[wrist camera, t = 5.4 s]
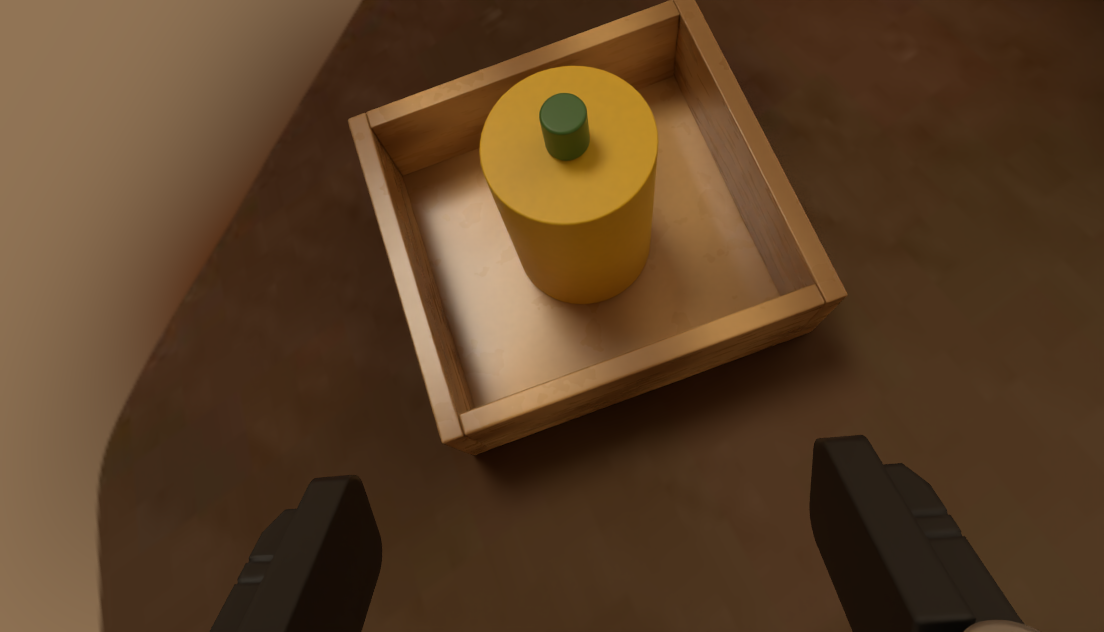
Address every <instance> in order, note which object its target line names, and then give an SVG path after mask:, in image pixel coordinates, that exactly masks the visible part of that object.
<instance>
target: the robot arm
mask: <svg viewBox="0 0 1104 632" xmlns="http://www.w3.org/2000/svg"><path fill="white" fill-rule="evenodd" d="M810 519H811V525H812V530H813V534H814V538H815V541H816V543H817V546H818V548H819V551H820V553H821V556H822V558H823V560H824V563H825V565H826V568H827V570H828V573H829V575H830V577H831V580H832V582H833V585H834V587H835V589H836V592H837V594H838V597H839V599H840V602H841V604H842V606H843V609H844V611H845V614H846V616H847V619H848V621H849V623H850V626H851V628H852V631H853V632H1041V631H1039V630H1037V629H1034V628H1032V627H1030V626H1027V625H1025V624H1024V623H1023V622H1022V620H1021V619H1020V618H1019V616H1018V615H1017V613H1016V612H1015V610H1014V609H1013V607H1012V606H1011V604H1010V603H1009V601H1008V600H1007V598H1006V597H1005V595H1004V594H1003V592H1002V591H1001V590H1000V588H999V587H998V585H997V584H996V582H995V581H994V579H993V578H992V576H991V575H990V573H989V572H988V570H987V569H986V567H985V566H984V564H983V563H982V561H981V560H980V558H979V557H978V555H977V554H976V552H975V551H974V549H973V548H972V546H971V545H970V543H969V542H968V540H967V539H966V537H965V536H962V534H961V530H960V528H959V527H958V526H957V524H956V523H955V521H954V520H953V518H952V517H951V515H948V514H947V509H946V508H945V506H944V505H943V503H942V502H941V500H940V499H939V497H938V496H937V494H936V493H935V491H934V490H933V488H932V487H931V485H930V484H929V483H928V482H926V481H925V480H924V479H922V478H921V477H920V476H918V475H917V474H916V473H914V472H913V471H912V470H910V469H909V468H908V467H906V466H905V465H904V464H902V463H898V464H886V465H883V464H882V462H881V460H880V459H879V457H878V455H877V454H876V452H875V450H874V449H873V447H872V446H871V444H870V442H869V441H868V439H867V438H866V437H865V436H863V435H855V436H843V437H830V438H818V439H816V441H815V443H814V449H813V463H812V477H811V491H810ZM381 562H382V543H381V537H380V533H379V530H378V527H377V524H376V521H375V519H374V516H373V513H372V510H371V507H370V504H369V501H368V498H367V495H366V492H365V489H364V486H363V483H362V481H361V479H360V478H359V477H358V476H357V475H347V476H335V477H322V478H315V479H313V480H312V481H311V482H310V484H309V486H308V488H307V490H306V492H305V494H304V496H303V498H302V500H301V502H300V504H299V506H298V508H297V509H288V510H284V511H283V512H282V513H281V514H280V515H279V516H278V517H277V518H276V519H275V520H274V521H273V522H272V523H271V524H270V525H269V526H268V527H267V528H266V529H265V530H264V531H263V532H262V534H261V536H260V538H259V540H258V542H257V544H256V545H255V547H254V549H253V551H252V553H251V555H250V557H249V563H246V564H245V566H244V568H243V570H242V572H241V574H240V575H239V577H238V583H237V584H235V585H234V587H233V589H232V590H231V592H230V594H229V596H228V598H227V600H226V602H225V604H224V605H223V607H222V609H221V611H220V613H219V615H218V617H217V619H216V620H215V622H214V624H213V626H212V628H211V630H210V632H361V631H362V627H363V624H364V621H365V618H366V615H367V611H368V608H369V605H370V602H371V598H372V595H373V592H374V589H375V586H376V582H377V579H378V576H379V573H380V569H381Z"/></svg>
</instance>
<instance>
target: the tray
mask: <svg viewBox="0 0 1104 632" xmlns="http://www.w3.org/2000/svg"><path fill="white" fill-rule="evenodd" d="M561 66H586V67H592V68H597V69H600V70H604V71H607V72H609V73H612V74H614V75H616V76H618V77H620V78H621V79H623V80H625V81H626V82H627V83H629V84H630V85H631V86H633V87H634V88H635V89H636V90H637V91H638V92H639V93H640V94H641V96H642V97H643V98H644V100H645V101H646V102H647V104H648V106H649V107H650V109H651V111H652V113H653V116H654V118H655V121H656V125H657V130H658V142H659V143H658V155H657V167H656V180H655V192H654V204H653V216H652V228H651V240H650V251H649V255H648V259H647V261H646V264H645V266H644V268H643V270H642V272H641V273H640V275H639V276H638V277H637V279H636V280H635V281H634V282H633V283H632V284H631V285H630V286H629V287H628V288H627V289H625V290H624V291H623V292H621V293H620V294H618V295H616V296H614V297H612V298H610V299H608V300H605V301H601V302H598V303H592V304H572V303H567V302H563V301H560V300H557V299H554V298H552V297H550V296H549V295H547V294H545V293H544V292H542V291H541V290H540V289H539V288H537V287H536V286H535V285H534V284H533V283H532V281H531V280H530V279H529V278H528V276H527V274H526V273H525V271H524V269H523V267H522V264H521V262H520V260H519V257H518V255H517V253H516V250H515V248H514V245H513V243H512V241H511V238H510V236H509V234H508V231H507V229H506V227H505V224H504V222H503V219H502V217H501V215H500V212H499V210H498V208H497V205H496V203H495V200H494V198H493V196H492V193H491V191H490V189H489V186H488V184H487V182H486V179H485V177H484V174H483V171H482V167H481V163H480V155H479V148H480V138H481V133H482V130H483V127H484V123H485V121H486V119H487V117H488V115H489V113H490V111H491V110H492V108H493V107H494V105H495V104H496V102H497V101H498V100H499V99H500V98H501V96H502V95H503V94H505V93H506V92H507V91H508V90H509V89H510V88H511V87H513V86H514V85H515V84H517V83H518V82H520V81H521V80H523V79H525V78H527V77H528V76H530V75H533V74H535V73H537V72H540V71H543V70H547V69H550V68H555V67H561ZM348 123H349V127H350V130H351V134H352V137H353V140H354V144H355V147H356V151H357V154H358V157H359V161H360V164H361V168H362V171H363V175H364V178H365V181H366V185H367V188H368V192H369V195H370V199H371V202H372V205H373V209H374V212H375V216H376V219H377V223H378V226H379V229H380V233H381V236H382V240H383V243H384V247H385V250H386V253H387V257H388V260H389V264H390V267H391V271H392V274H393V277H394V281H395V284H396V288H397V291H398V295H399V298H400V301H401V305H402V308H403V312H404V315H405V319H406V322H407V325H408V329H409V332H410V336H411V339H412V343H413V346H414V349H415V353H416V356H417V360H418V363H419V367H420V370H421V373H422V377H423V380H424V384H425V387H426V391H427V394H428V397H429V401H430V404H431V408H432V411H433V415H434V418H435V421H436V425H437V428H438V432H439V435H440V439H441V442H442V443H443V444H445V445H447V446H450V447H453V448H455V449H458V450H460V451H463V452H465V453H468V454H471V455H477V454H479V453H482V452H485V451H488V450H490V449H493V448H496V447H498V446H501V445H504V444H507V443H509V442H512V441H515V440H518V439H520V438H523V437H526V436H529V435H531V434H534V433H537V432H539V431H542V430H545V429H548V428H550V427H553V426H556V425H559V424H561V423H564V422H567V421H570V420H572V419H575V418H578V417H580V416H583V415H586V414H589V413H591V412H594V411H597V410H600V409H602V408H605V407H608V406H610V405H613V404H616V403H619V402H621V401H624V400H627V399H630V398H632V397H635V396H638V395H641V394H643V393H646V392H649V391H651V390H654V389H657V388H660V387H662V386H665V385H668V384H671V383H673V382H676V381H679V380H682V379H684V378H687V377H690V376H692V375H695V374H698V373H701V372H703V371H706V370H709V369H712V368H714V367H717V366H720V365H722V364H725V363H728V362H731V361H733V360H736V359H739V358H742V357H744V356H747V355H750V354H753V353H755V352H758V351H761V350H763V349H766V348H769V347H772V346H774V345H777V344H780V343H783V342H785V341H788V340H791V339H794V338H796V337H799V336H802V335H804V334H807V333H810V332H811V331H812V330H813V329H814V328H815V327H816V326H817V325H818V324H819V323H820V322H821V321H822V320H823V319H824V318H825V317H826V316H827V315H828V314H829V313H830V312H831V311H832V310H833V309H834V308H835V307H836V306H837V305H838V304H839V303H840V302H841V301H842V300H843V299H844V298H845V297H846V296H847V292H846V290H845V288H844V286H843V284H842V283H841V281H840V279H839V277H838V275H837V273H836V271H835V269H834V267H833V265H832V263H831V261H830V259H829V257H828V256H827V254H826V252H825V250H824V248H823V246H822V244H821V242H820V240H819V238H818V236H817V234H816V232H815V230H814V229H813V227H812V225H811V223H810V221H809V219H808V217H807V215H806V213H805V211H804V209H803V207H802V205H801V204H800V202H799V200H798V198H797V196H796V194H795V192H794V190H793V188H792V186H791V184H790V182H789V180H788V178H787V177H786V175H785V173H784V171H783V169H782V167H781V165H780V163H779V161H778V159H777V157H776V155H775V153H774V151H773V150H772V148H771V146H770V144H769V142H768V140H767V138H766V136H765V134H764V132H763V130H762V128H761V126H760V125H759V123H758V121H757V119H756V117H755V115H754V113H753V111H752V109H751V107H750V105H749V103H748V101H747V99H746V98H745V96H744V94H743V92H742V90H741V88H740V86H739V84H738V82H737V80H736V78H735V76H734V74H733V73H732V71H731V69H730V67H729V65H728V63H727V61H726V59H725V57H724V55H723V53H722V51H721V49H720V47H719V46H718V44H717V42H716V40H715V38H714V36H713V34H712V32H711V30H710V28H709V26H708V24H707V22H706V20H705V19H704V17H703V15H702V13H701V11H700V9H699V7H698V5H697V3H696V1H695V0H670V1H667V2H664V3H661V4H659V5H656V6H653V7H651V8H648V9H645V10H642V11H640V12H637V13H634V14H632V15H629V16H626V17H623V18H621V19H618V20H615V21H613V22H610V23H607V24H604V25H602V26H599V27H596V28H594V29H591V30H588V31H585V32H583V33H580V34H577V35H575V36H572V37H569V38H566V39H564V40H561V41H558V42H556V43H553V44H550V45H547V46H545V47H542V48H539V49H537V50H534V51H531V52H528V53H526V54H523V55H520V56H518V57H515V58H512V59H509V60H507V61H504V62H501V63H498V64H496V65H493V66H490V67H488V68H485V69H482V70H479V71H477V72H474V73H471V74H469V75H466V76H463V77H460V78H458V79H455V80H452V81H450V82H447V83H444V84H441V85H439V86H436V87H433V88H431V89H428V90H425V91H422V92H420V93H417V94H414V95H412V96H409V97H406V98H403V99H401V100H398V101H395V102H393V103H390V104H387V105H384V106H382V107H379V108H376V109H374V110H371V111H368V112H367V114H366V113H363V114H360V115H358V116H355V117H352V118H350V119H348Z"/></svg>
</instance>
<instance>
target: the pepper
mask: <svg viewBox="0 0 1104 632" xmlns="http://www.w3.org/2000/svg"><path fill="white" fill-rule="evenodd" d="M658 143H659V142H658V130H657V125H656V121H655V118H654V116H653V113H652V111H651V109H650V107H649V106H648V104H647V102H646V101H645V100H644V98H643V97H642V96H641V94H640V93H639V92H638V91H637V90H636V89H635V88H634V87H633V86H631V85H630V84H629V83H627V82H626V81H625V80H623V79H621V78H620V77H618V76H616V75H614V74H612V73H609V72H607V71H604V70H600V69H597V68H592V67H586V66H561V67H555V68H550V69H547V70H543V71H540V72H537V73H535V74H533V75H530V76H528V77H527V78H525V79H523V80H521V81H520V82H518V83H517V84H515V85H514V86H513V87H511V88H510V89H509V90H508V91H507V92H506V93H505V94H503V95H502V96H501V98H500V99H499V100H498V101H497V102H496V104H495V105H494V107H493V108H492V110H491V111H490V113H489V115H488V117H487V119H486V121H485V123H484V127H483V130H482V133H481V138H480V148H479V155H480V163H481V167H482V171H483V174H484V177H485V179H486V182H487V184H488V186H489V189H490V191H491V193H492V196H493V198H494V200H495V203H496V205H497V208H498V210H499V212H500V215H501V217H502V219H503V222H504V224H505V227H506V229H507V231H508V234H509V236H510V238H511V241H512V243H513V245H514V248H515V250H516V253H517V255H518V257H519V260H520V262H521V264H522V267H523V269H524V271H525V273H526V274H527V276H528V278H529V279H530V280H531V281H532V283H533V284H534V285H535V286H536V287H537V288H539V289H540V290H541V291H542V292H544V293H545V294H547V295H549V296H550V297H552V298H554V299H557V300H560V301H563V302H567V303H572V304H592V303H598V302H601V301H605V300H608V299H610V298H612V297H614V296H616V295H618V294H620V293H621V292H623V291H624V290H625V289H627V288H628V287H629V286H630V285H631V284H632V283H633V282H634V281H635V280H636V279H637V277H638V276H639V275H640V273H641V272H642V270H643V268H644V266H645V264H646V261H647V259H648V255H649V251H650V240H651V228H652V216H653V204H654V192H655V180H656V167H657V155H658Z"/></svg>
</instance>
